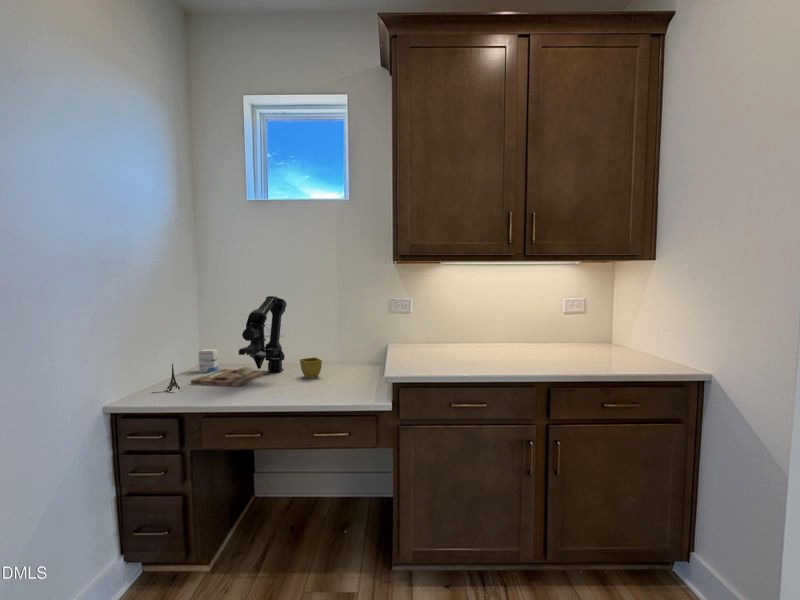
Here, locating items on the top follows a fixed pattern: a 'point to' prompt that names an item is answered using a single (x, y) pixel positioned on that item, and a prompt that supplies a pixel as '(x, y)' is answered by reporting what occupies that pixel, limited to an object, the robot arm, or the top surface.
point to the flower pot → (311, 367)
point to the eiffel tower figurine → (172, 381)
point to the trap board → (226, 378)
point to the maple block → (244, 372)
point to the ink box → (208, 360)
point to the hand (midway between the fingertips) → (259, 368)
